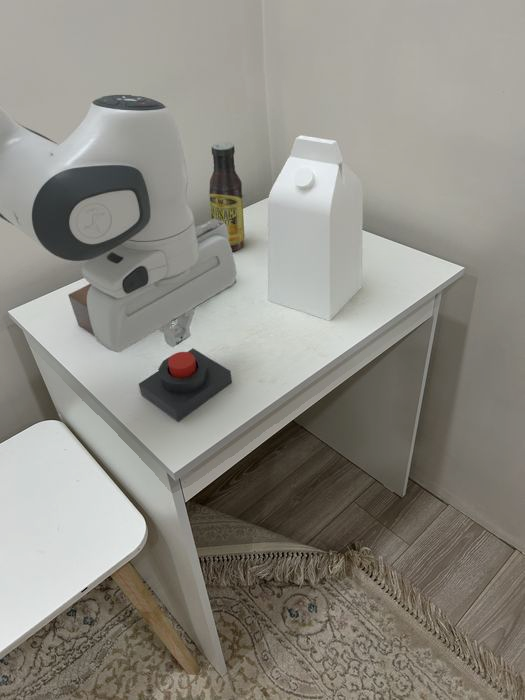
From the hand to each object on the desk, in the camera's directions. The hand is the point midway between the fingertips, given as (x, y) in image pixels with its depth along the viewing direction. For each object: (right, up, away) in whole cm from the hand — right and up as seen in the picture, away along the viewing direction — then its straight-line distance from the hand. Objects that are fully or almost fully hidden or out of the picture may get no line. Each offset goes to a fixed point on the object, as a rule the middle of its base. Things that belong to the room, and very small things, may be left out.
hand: (178, 340), depth 71 cm
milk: (+20, +8, +22) cm, 31 cm away
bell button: (0, -4, +3) cm, 5 cm away
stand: (-13, +3, +19) cm, 23 cm away
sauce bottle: (+5, +19, +37) cm, 42 cm away
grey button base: (0, -7, +6) cm, 9 cm away
